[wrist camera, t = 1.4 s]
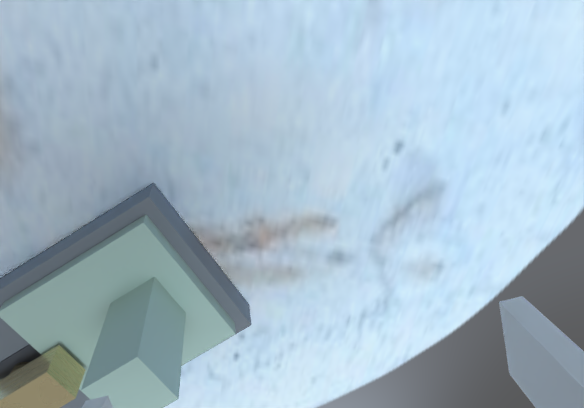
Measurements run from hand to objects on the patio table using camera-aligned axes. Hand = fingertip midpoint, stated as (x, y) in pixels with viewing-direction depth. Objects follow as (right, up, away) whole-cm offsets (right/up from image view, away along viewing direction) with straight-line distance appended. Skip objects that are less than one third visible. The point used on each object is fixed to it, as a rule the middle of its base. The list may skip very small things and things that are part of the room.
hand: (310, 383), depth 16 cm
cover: (-14, -3, +23) cm, 27 cm away
